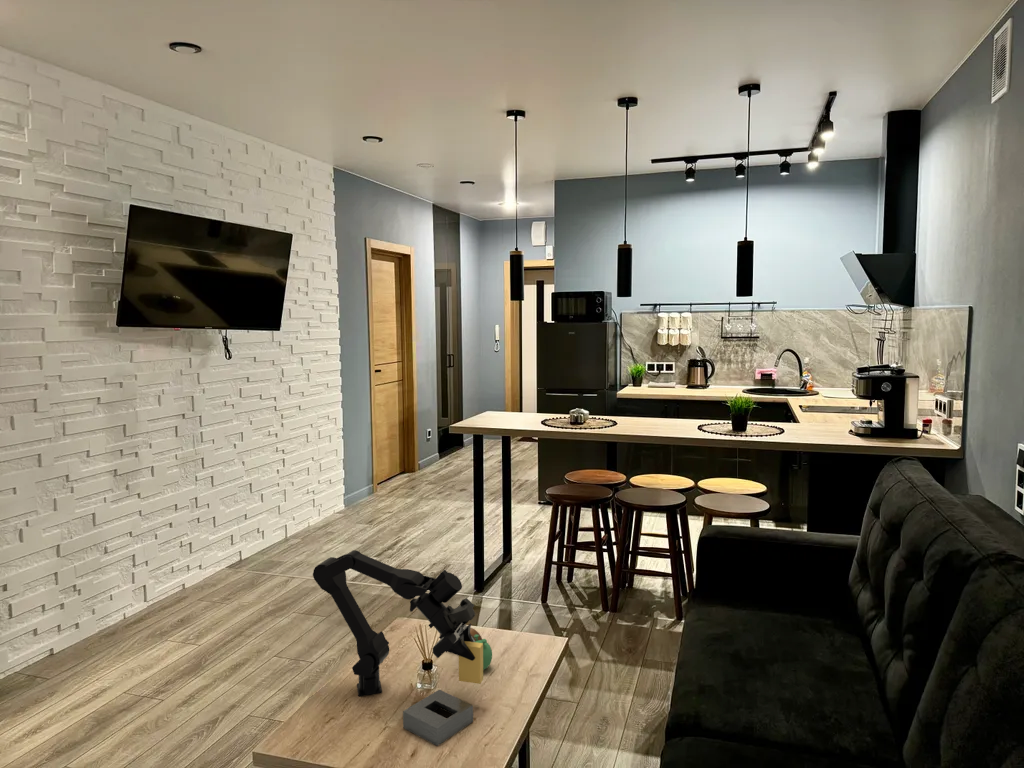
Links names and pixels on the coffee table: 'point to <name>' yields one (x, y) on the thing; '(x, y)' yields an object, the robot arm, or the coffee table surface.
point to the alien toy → (485, 651)
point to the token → (472, 664)
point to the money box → (437, 717)
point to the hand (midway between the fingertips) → (475, 657)
